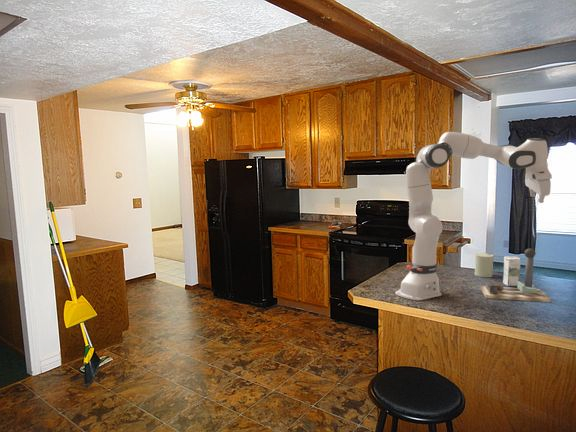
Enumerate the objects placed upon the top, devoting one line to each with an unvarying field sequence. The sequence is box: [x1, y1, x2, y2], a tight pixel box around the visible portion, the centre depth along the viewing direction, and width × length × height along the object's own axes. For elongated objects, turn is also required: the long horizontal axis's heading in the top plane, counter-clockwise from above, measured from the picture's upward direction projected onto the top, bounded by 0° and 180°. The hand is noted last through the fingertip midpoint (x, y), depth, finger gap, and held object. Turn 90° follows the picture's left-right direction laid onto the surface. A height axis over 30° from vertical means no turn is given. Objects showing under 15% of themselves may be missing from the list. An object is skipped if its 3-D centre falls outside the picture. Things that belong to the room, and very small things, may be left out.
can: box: [474, 252, 494, 278], centre depth 220 cm, size 9×9×12 cm
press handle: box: [516, 248, 538, 293], centre depth 182 cm, size 6×8×20 cm
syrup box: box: [502, 255, 521, 287], centre depth 200 cm, size 6×6×14 cm
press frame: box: [480, 279, 551, 303], centre depth 185 cm, size 26×14×6 cm, turn 73°
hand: (536, 199), depth 190 cm, fingers open, 8 cm apart
